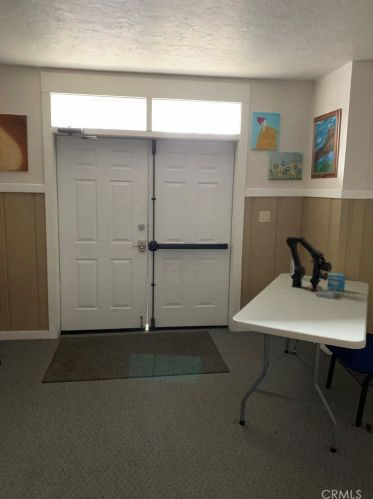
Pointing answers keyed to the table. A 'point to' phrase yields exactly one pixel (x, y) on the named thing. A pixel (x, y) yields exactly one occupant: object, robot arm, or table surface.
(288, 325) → the table surface
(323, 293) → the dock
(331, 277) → the data package
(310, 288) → the brown cardboard box
